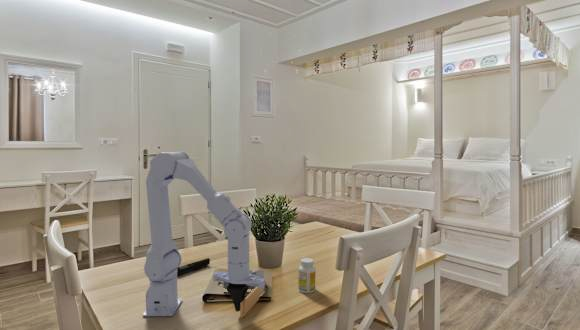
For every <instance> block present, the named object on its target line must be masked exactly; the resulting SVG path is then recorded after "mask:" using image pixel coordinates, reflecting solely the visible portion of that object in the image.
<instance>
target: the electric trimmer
mask: <svg viewBox="0 0 580 330" xmlns="http://www.w3.org/2000/svg"><path fill="white" fill-rule="evenodd" d="M210 262H211V258H210V257H207V258H204V259H201V260H198V261H194V262H191V263H187V264H185V265H182V266H181V265H180V266H179V267H178V268H177V271H178V272H177V278H178V277H179V276H181V275H184V274H187V273H190V272H192V271H198V270H201V269H202V268H204V267H207V266H209V265H210Z"/></svg>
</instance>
